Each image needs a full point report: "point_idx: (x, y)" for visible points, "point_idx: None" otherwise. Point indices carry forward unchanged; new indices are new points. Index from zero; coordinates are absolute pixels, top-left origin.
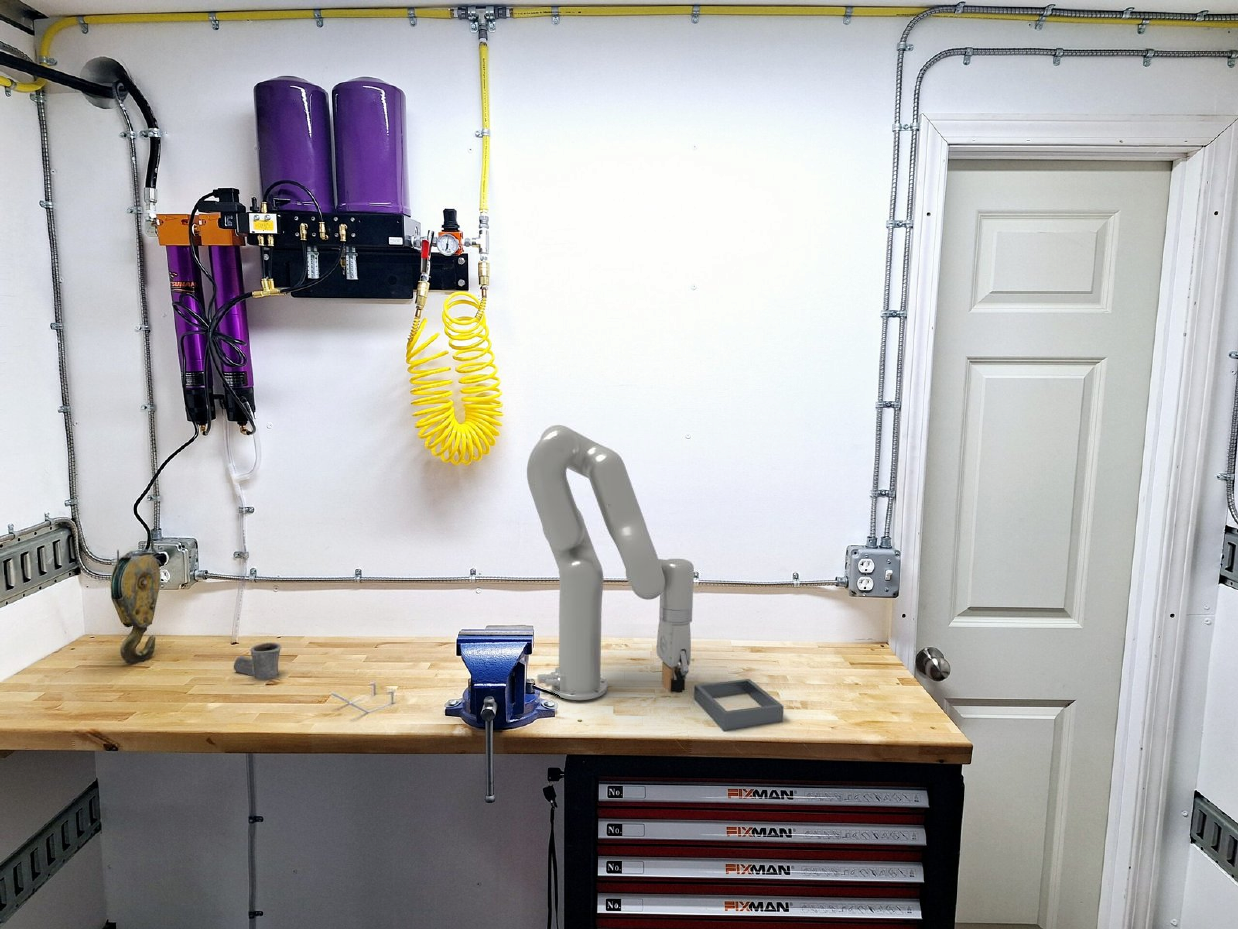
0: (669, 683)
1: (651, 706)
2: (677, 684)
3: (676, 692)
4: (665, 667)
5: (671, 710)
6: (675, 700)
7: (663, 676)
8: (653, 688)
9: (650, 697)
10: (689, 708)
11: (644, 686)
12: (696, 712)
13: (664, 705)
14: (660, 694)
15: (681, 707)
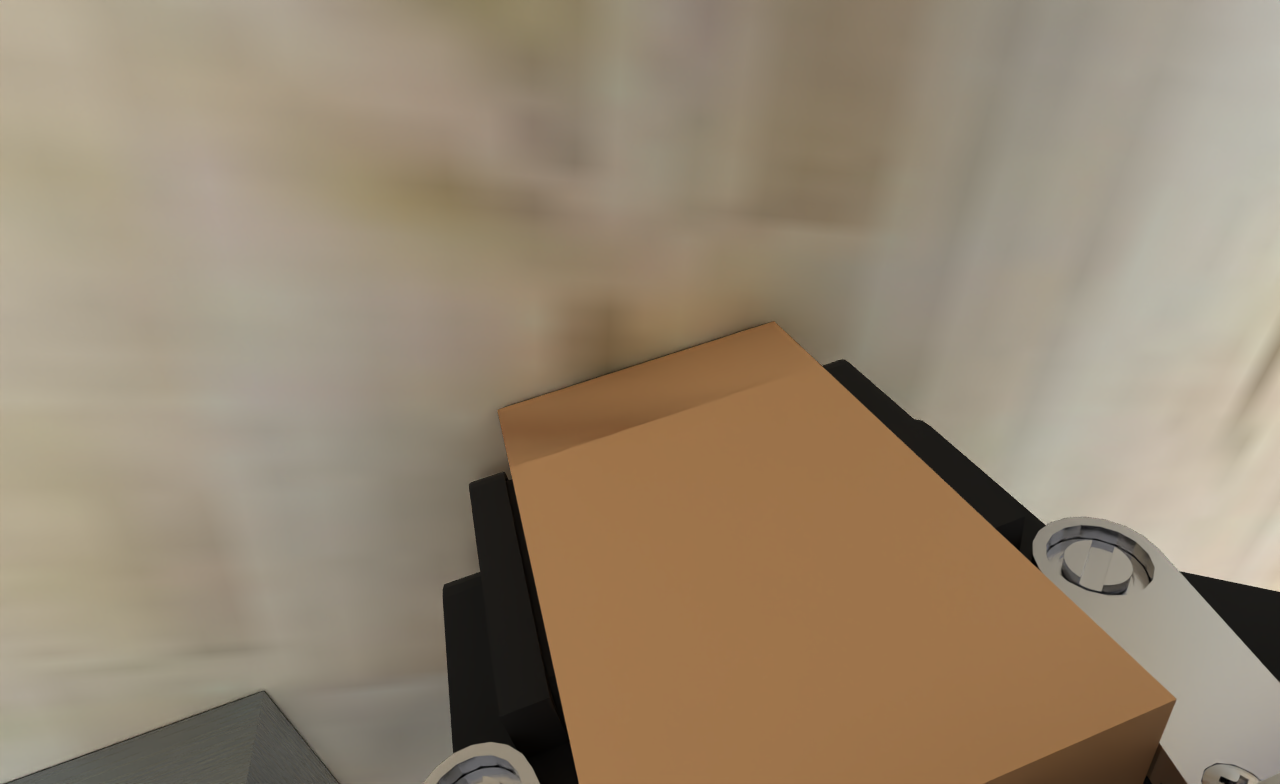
0: (540, 586)
1: (120, 96)
2: (458, 719)
3: (443, 592)
4: (891, 729)
5: (32, 445)
6: (459, 491)
7: (842, 491)
8: (889, 210)
9: (565, 125)
10: (199, 653)
11: (992, 70)
12: (75, 730)
13: (234, 343)
14: (672, 300)
15: (210, 568)
